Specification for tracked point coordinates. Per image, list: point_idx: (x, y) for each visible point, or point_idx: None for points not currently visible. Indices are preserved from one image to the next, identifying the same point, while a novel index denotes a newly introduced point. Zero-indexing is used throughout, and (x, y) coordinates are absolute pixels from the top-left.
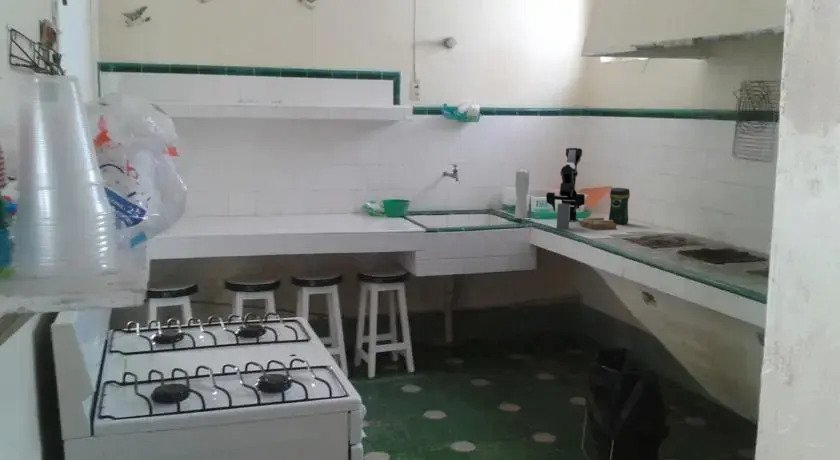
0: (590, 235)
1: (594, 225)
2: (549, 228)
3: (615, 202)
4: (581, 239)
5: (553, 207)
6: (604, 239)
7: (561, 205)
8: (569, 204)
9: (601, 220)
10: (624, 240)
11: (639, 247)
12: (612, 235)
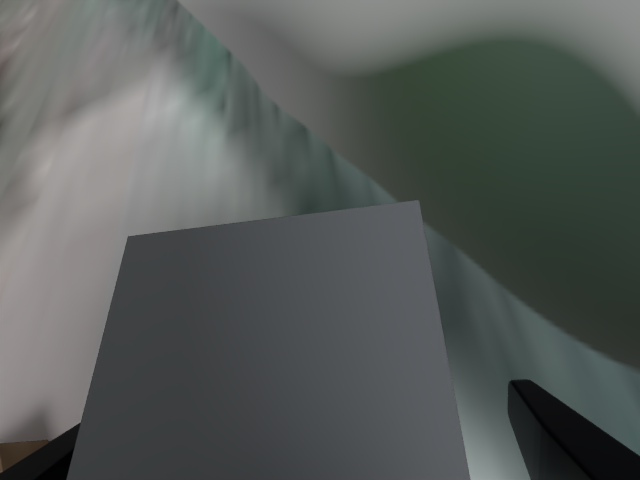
0: (141, 146)
1: (11, 454)
2: (474, 312)
3: None
4: (201, 28)
5: (595, 431)
6: (94, 79)
7: (319, 224)
8: (104, 345)
9: None
10: (10, 103)
11: (15, 12)
12: (10, 211)
